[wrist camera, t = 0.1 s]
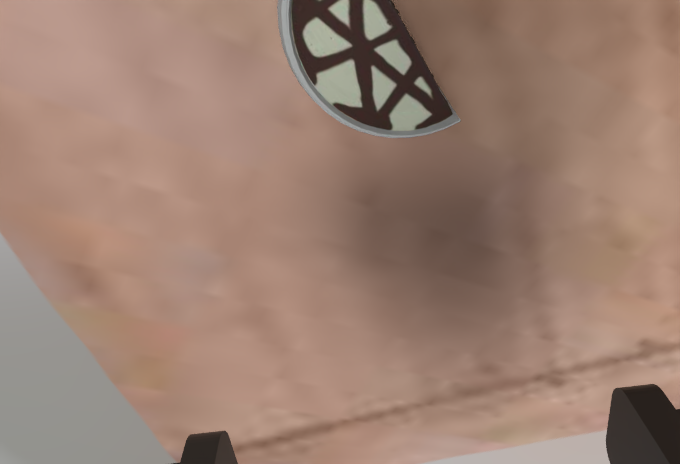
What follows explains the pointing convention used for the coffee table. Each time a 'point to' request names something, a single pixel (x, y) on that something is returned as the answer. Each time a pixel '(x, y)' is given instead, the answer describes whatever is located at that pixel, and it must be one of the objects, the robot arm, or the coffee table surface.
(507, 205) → the coffee table surface
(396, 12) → the food container
